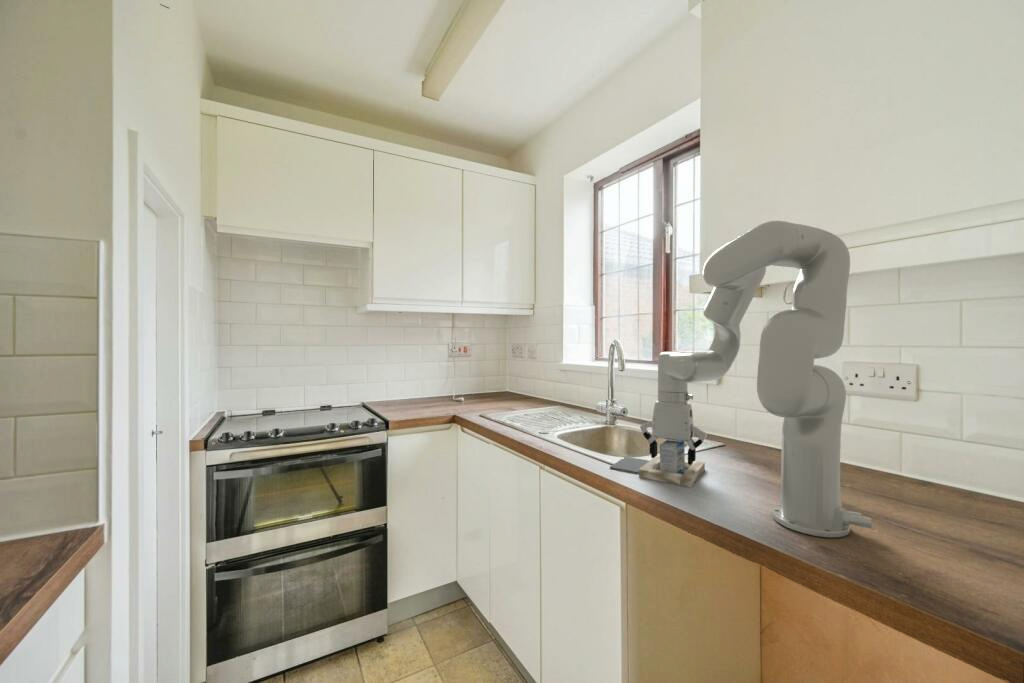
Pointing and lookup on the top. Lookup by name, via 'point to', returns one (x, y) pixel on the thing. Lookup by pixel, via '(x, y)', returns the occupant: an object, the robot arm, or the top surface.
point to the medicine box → (672, 456)
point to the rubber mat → (629, 464)
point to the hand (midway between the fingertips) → (671, 459)
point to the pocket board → (686, 479)
